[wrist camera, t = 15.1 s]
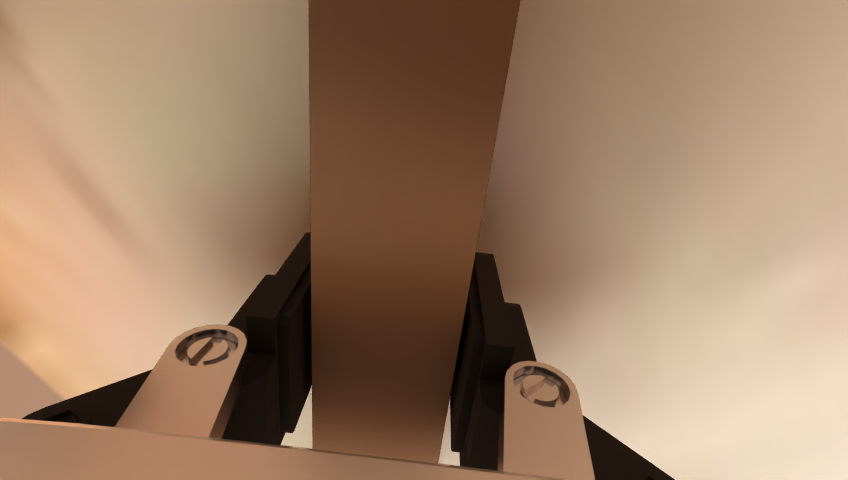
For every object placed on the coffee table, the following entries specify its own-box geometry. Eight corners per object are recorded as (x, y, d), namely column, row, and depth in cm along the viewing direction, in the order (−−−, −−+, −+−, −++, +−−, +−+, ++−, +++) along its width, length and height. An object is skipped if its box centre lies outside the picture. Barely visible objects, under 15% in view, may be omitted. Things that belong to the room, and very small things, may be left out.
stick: (365, -95, 9) (306, -189, 5) (503, -78, 9) (548, -159, 5) (344, 464, 17) (314, 597, 13) (419, 472, 17) (412, 607, 13)
